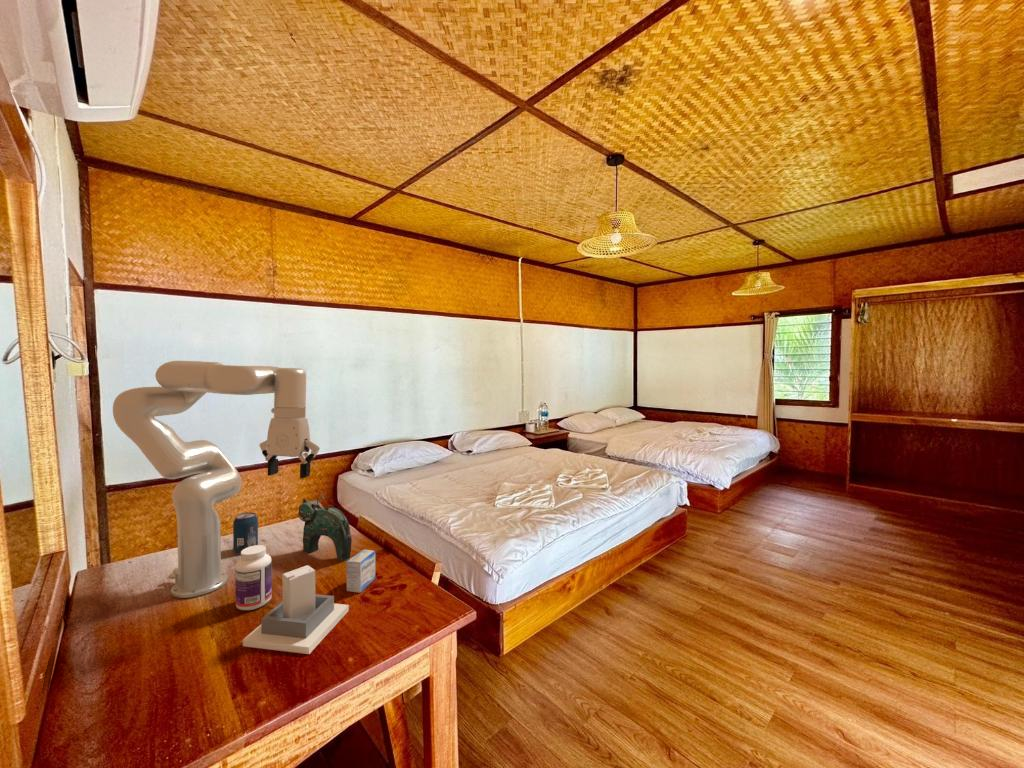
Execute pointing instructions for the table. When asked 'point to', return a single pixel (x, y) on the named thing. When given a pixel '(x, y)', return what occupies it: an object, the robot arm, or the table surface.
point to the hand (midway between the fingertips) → (288, 475)
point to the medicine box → (360, 571)
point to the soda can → (245, 531)
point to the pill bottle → (253, 578)
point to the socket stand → (297, 627)
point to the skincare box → (299, 593)
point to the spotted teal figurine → (325, 528)
